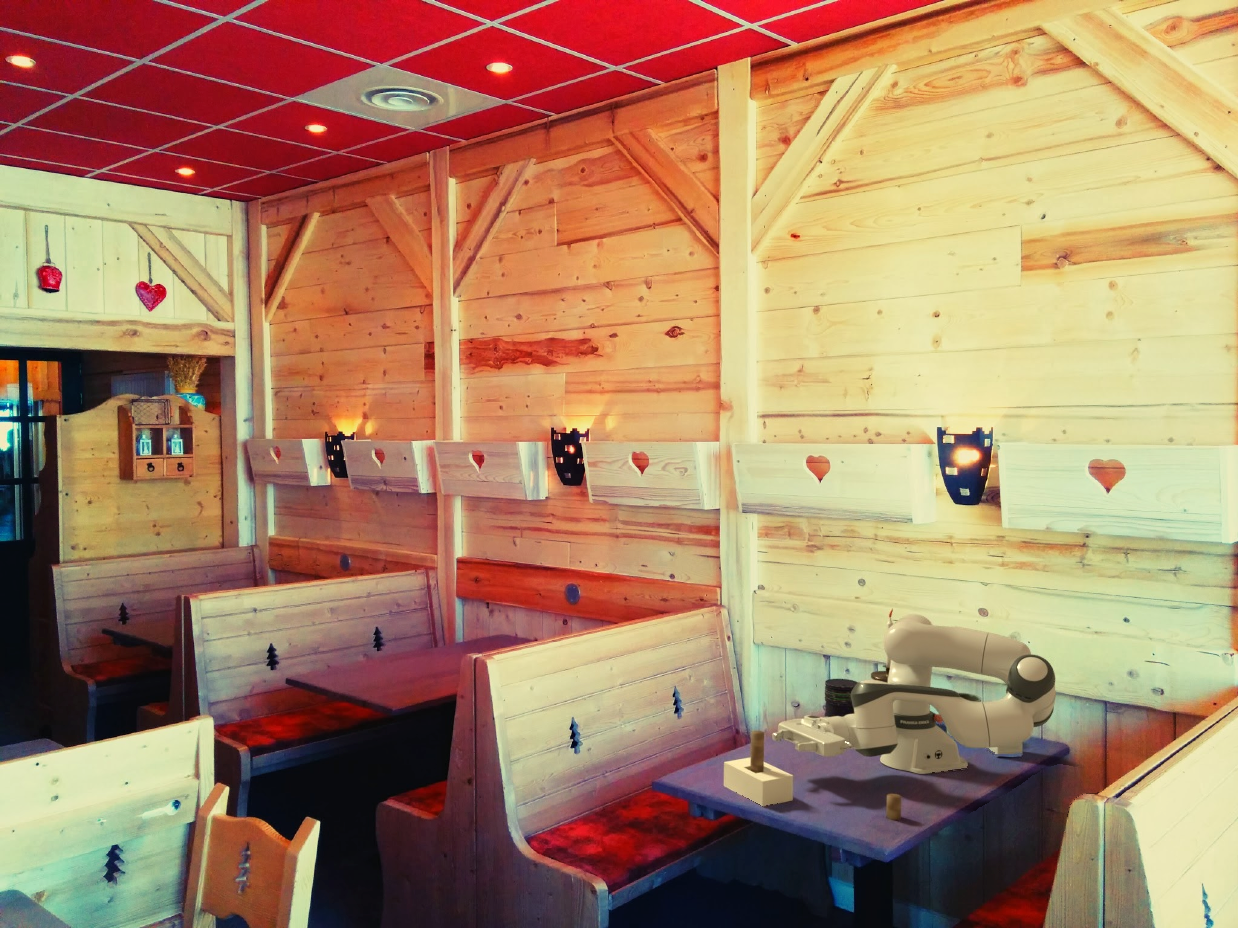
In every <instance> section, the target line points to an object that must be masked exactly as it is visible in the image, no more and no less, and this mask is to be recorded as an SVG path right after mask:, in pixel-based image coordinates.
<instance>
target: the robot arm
mask: <svg viewBox="0 0 1238 928" xmlns="http://www.w3.org/2000/svg"><path fill="white" fill-rule="evenodd" d="M883 648H884V652H885V654H887V656H888V657H889V658H890V659H891V663H890V670H889V676H888V683H886V682H882V681H878V680H873V679H865V680H862V681H857V682H858V683H857V684H856V685H855V687H854V688H853V690H852V692H851V694H850V695H851V699H852V704H853V707H854V713H855V714H848V715H845V716H844V717H840V716H834V717H825V716H817V715H812V714H811V715H810V714H809V715H808V714H807V715H804V716H803V718H793V719H787V720H784V721H783V720H782V721H781V722H780V723H778V726H777V731H776V732H772V734H771V737H772V738H771V739H772V740H773V741H775V742H780V741H782V740H785V741H787V742H790V743H791V744H792V743H793V744H794V748H795V750H796V751H798V752H813V753H815V754H817V755H820V756H822V757H825V758H826V757H827V758H829V757H830V758H831V757H836V756H839V755H842V754H845V752H846V751H847V750H855V752H857V753H859V754H861V755H862V756H864V757H869V758H870V757H871V758H872V757H878V756H880V758H879V760H880V762H881V763H882V764H883V765H885V766H887V767H889V768H893V769H897V770H900V771H908V772H912V773H915V774H920V775H926V774H932V772H935V773H942V772H941V771H944V772H949V771H948V770H952V769H961V768H967V766H968V764H969V763H968V761H967V760H966V759H965V758H964V757H962V755H959V754H960V753H959V748H958V744H957V742H958V743H959V744H960V745H961V746H963V747H965V748H968V749H969V748H971V749H986V748H991V747H1001V746H1007V745H1012V744H1016V743H1020V742H1026V741H1028V740H1029V739H1031V738H1032V737H1031V736H1032V734H1033V732H1034V728H1038V727H1041V726H1043V725H1045V724H1046V723H1047V722H1048V721H1049V720H1050V719H1051V717H1052V715H1053V713H1054V705H1055V702H1056V695H1057V691H1056V673H1055V670H1054V668H1053V666H1052V665H1051V663H1050V662H1049V661H1048V660H1047V659H1046V658H1045V657H1043V656H1040V655H1038V654H1033V653H1032V652H1031V649H1030V647H1029V646H1028V645H1027V644H1025V643H1024V642H1022V641H1020V640H1017V639H1014V638H1013V637H1008V636H1005V635H1001V634H997V633H992V632H988V631H982V630H978V629H973V628H972V629H971V628H967V627H962V626H945V625H935V624H933V623H932V621H930V620H929V619H928V618H927V617H926V616H923V615H921V614H917V613H916V614H915V613H914V614H913V613H911V614H906V615H904V616H902V617H901V618H899V619H898V620H897V621H895V622H893V625H892V626H891V627H890V628H889V629H888V630H887V629H886V631H885V634H884V638H883ZM933 668H940V669H942V668H943V669H952V670H956V671H962V672H966V673H971V674H977V675H981V676H987V677H990V678H991V677H992V678H996V679H999V680H1001V681H1002V682H1004V684H1005V685H1006V689H1005V693H1006V695H1005V696H1003V698H1001V699H997V700H987V701H981V702H973V701H969V700H966V699H963V698H961V697H960V695H959V694H958V693H959V692H958V691H955V690H952V689H949V688H943V687H933V686H931V680H932V675H933V674H932V671H933ZM931 706H932V708H934V709H935V711H936V712H937V713H935V712H933V711H932V710H931ZM942 723H944V725H945V727H946V730H947V729H948V731H949V732H950V734H951V735H952V736H953V738H954V739H955V740H956V741H954V739H953V738H951V737H950V736H949V735H948V734H947V732H946V731H944V730H943V729H942V728H941V727H939V726H938V725H937V724H942ZM968 767H969V766H968ZM967 769H968V768H967ZM961 770H962V769H961Z"/></svg>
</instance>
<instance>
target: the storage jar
mask: <svg viewBox="0 0 1238 928" xmlns="http://www.w3.org/2000/svg"><path fill="white" fill-rule="evenodd" d="M858 682H859V681H856V680H853V679H849V678H848V679H847V678H830V679H826V680H825V681H824V685H825V686H824V701H825V712H824V717H834V716H840V717H844V716H845V715H848V714H855V713H854V707H853V704H852V699H851V695H850V694H851V692H852V690H853V688H854V687H855V685H856V684H857V683H858Z"/></svg>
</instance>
